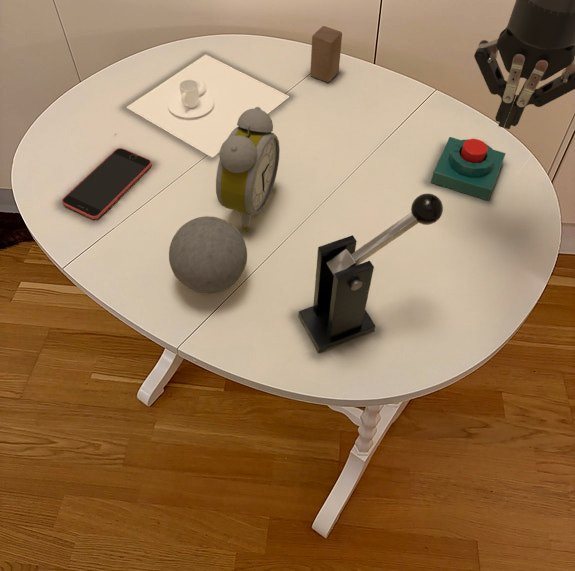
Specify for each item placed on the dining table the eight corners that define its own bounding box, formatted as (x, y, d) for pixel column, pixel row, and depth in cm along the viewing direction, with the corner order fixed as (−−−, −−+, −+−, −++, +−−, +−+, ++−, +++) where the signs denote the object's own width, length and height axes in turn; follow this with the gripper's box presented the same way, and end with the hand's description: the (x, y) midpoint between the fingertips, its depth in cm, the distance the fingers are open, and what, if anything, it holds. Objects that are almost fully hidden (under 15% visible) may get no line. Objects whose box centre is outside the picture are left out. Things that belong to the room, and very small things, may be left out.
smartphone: (154, 161, 93) (95, 219, 86) (154, 163, 94) (96, 221, 87) (118, 146, 95) (58, 201, 88) (119, 148, 96) (59, 204, 88)
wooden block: (328, 83, 106) (331, 42, 100) (309, 76, 108) (311, 35, 101) (339, 72, 108) (343, 31, 102) (320, 65, 110) (322, 24, 103)
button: (487, 151, 91) (490, 142, 90) (481, 166, 89) (484, 157, 88) (464, 144, 92) (466, 135, 90) (457, 159, 90) (460, 150, 89)
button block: (501, 163, 95) (509, 144, 92) (487, 200, 90) (495, 181, 87) (446, 147, 97) (452, 127, 94) (430, 182, 92) (435, 163, 89)
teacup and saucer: (193, 82, 106) (190, 62, 103) (227, 100, 103) (225, 80, 100) (158, 107, 102) (154, 86, 99) (191, 126, 99) (188, 106, 96)
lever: (435, 197, 67) (428, 182, 65) (451, 217, 66) (445, 203, 63) (332, 268, 70) (321, 256, 67) (346, 290, 68) (335, 279, 65)
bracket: (352, 295, 80) (364, 226, 68) (374, 330, 76) (390, 264, 65) (298, 316, 78) (301, 248, 66) (318, 353, 74) (325, 288, 63)
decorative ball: (163, 266, 82) (151, 216, 74) (229, 240, 85) (224, 190, 77) (192, 320, 77) (182, 273, 69) (261, 290, 80) (259, 242, 72)
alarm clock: (252, 239, 85) (248, 160, 73) (209, 227, 86) (197, 147, 74) (280, 185, 92) (281, 103, 79) (239, 174, 93) (233, 92, 81)
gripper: (487, -9, 61) (446, 127, 75) (621, 24, 58) (552, 158, 72) (503, -42, 65) (461, 93, 79) (629, -13, 62) (562, 121, 76)
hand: (505, 124), depth 75 cm, fingers closed
